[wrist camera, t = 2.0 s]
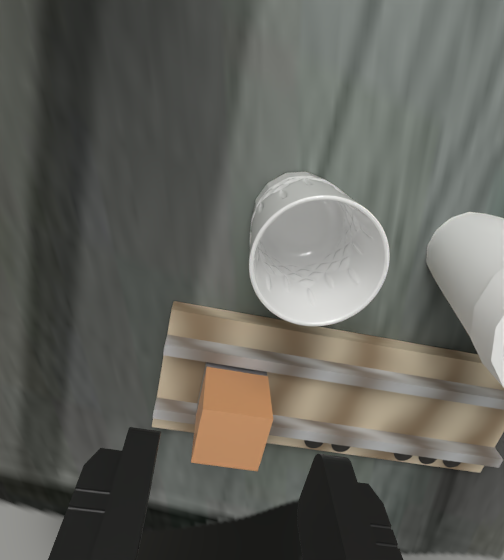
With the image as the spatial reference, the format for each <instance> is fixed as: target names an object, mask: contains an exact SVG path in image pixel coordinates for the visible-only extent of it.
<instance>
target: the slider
mask: <svg viewBox="0 0 504 560" xmlns="http://www.w3.org/2000/svg"><path fill="white" fill-rule="evenodd" d="M272 422H273V412H272V404H271V396H270V388H269V379H268V376H267V372H265V371H259V370H252V369H246V368H240V367H234V366H227V365H221V364H215V363H209V362H206V365H205V369H204V374H203V379H202V383H201V388H200V393H199V397H198V403H197V413H196V420H195V430H194V439H193V449H192V458H191V463H199V464H206V465H214V466H221V467H229V468H237V469H244V470H252V471H258V468H259V465H260V462H261V458H262V455H263V452H264V449H265V445H266V442H267V439H268V435H269V432H270V429H271V425H272Z"/></svg>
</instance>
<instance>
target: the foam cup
mask: <svg viewBox="0 0 504 560" xmlns="http://www.w3.org/2000/svg"><path fill="white" fill-rule="evenodd" d="M426 263H427V265H428V268H429V270H430V272H431V274H432V276H433V277H434V279H435V281H436V283H437V284H438V286H439V288H440V289H441V291H442V292H443V294H444V296H445V297H446V299H447V301H448V302H449V304H450V305H451V307H452V309H453V310H454V312H455V313H456V315H457V317H458V318H459V320H460V322H461V323H462V325H463V326H464V328H465V330H466V331H467V333H468V335H469V336H470V338H471V340H472V343H473V345H474V347H475V349H476V351H477V353H478V355H479V357H480V359H481V362H482V363H483V365H484V366H485V367H486V368H487V369H488V370H489V371H490V373H491V374H492V375H493V376H494V377H495V378H496V379H497V381H498V382H499V383H500V384H501V385H502V386H503V387H504V218H501V217H497V216H493V215H488V214H483V213H474V212H467V213H464V214H461V215H458V216H455V217H452V218H450V219H449V220H448V221H446V222H445V223H444V224H443V225H442V226H440V227H439V228H438V229H437V230H436V231H435V233H434V235H433V237H432V238H431V240H430V242H429V244H428V246H427V257H426Z"/></svg>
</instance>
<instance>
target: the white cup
mask: <svg viewBox="0 0 504 560" xmlns="http://www.w3.org/2000/svg"><path fill="white" fill-rule="evenodd" d="M389 256H390V255H389V245H388V241H387V237H386V234H385V232H384V230H383V228H382V226H381V224H380V223H379V222H378V220H377V219H376V218H375V217H374V215H373V214H372V213H371V212H369V211H368V210H367V209H366V208H364V207H363V206H362V205H360V204H359V203H358V202H356V201H355V200H354V199H353V198H351V197H350V196H349V195H347V194H346V193H345V192H344V191H342V190H341V189H339V188H338V187H336V186H335V185H333V184H332V183H330V182H328V181H326V180H325V179H323V178H320V177H318V176H316V175H313V174H311V173H309V172H292V173H285V174H283V175H281V176H279V177H277V178H276V179H274V180H272V181H270V182H268V183H267V184H266V186H265V187H264V189H263V190H262V191H261V193H260V194H259V196H258V197H257V198H256V200H255V205H254V211H253V215H252V219H251V228H250V241H249V273H250V279H251V283H252V286H253V288H254V291H255V293H256V295H257V296H258V298H259V299H260V301H261V302H262V303H263V305H264V306H265V307H266V308H267V309H268V310H269V311H271V312H272V313H273V314H275V315H276V316H278V317H279V318H281V319H283V320H285V321H288V322H290V323H294V324H297V325H302V326H325V325H331V324H335V323H338V322H341V321H343V320H346V319H348V318H350V317H352V316H353V315H355V314H357V313H358V312H360V311H361V310H362V309H363V308H365V307H366V306H367V305H368V304H369V303H370V302H371V301H372V300H373V298H374V297H375V296H376V295H377V293H378V292H379V290H380V289H381V287H382V285H383V283H384V280H385V278H386V275H387V272H388V267H389Z"/></svg>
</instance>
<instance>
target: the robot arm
mask: <svg viewBox="0 0 504 560" xmlns="http://www.w3.org/2000/svg"><path fill="white" fill-rule="evenodd" d="M160 434H161V431H154V430H147V429H140V428H133V427H130V428H129V430H128V433H127V437H126V440H125V443H124V447H123V450H122V451H119V450H111V449H104V448H100V449H99V450H98V451H97V452H96V453H95V454H94V455H93V456H92V457H91V459H90V460H89V461H88V462H87V463H86V464H85V465H84V466H83V469H82V472H81V474H80V477H79V480H78V482H77V485H76V488H75V492H74V493H73V495H72V498H71V501H70V503H69V506H68V510H67V511H66V514H65V516H64V519H63V522H62V524H61V527H60V530H59V532H58V535H57V537H56V540H55V543H54V545H53V548H52V551H51V553H50V556H49V558H48V560H137V556H138V551H139V546H140V540H141V535H142V531H143V525H144V520H145V515H146V510H147V505H148V500H149V495H150V489H151V484H152V479H153V473H154V467H155V462H156V456H157V451H158V445H159V440H160ZM297 520H298V521H297V522H298V530H299V538H300V544H301V551H302V558H303V560H403V558H402V555H401V552H400V549H398V548H397V541H396V538H395V535H394V532H393V530H391V524H390V521H389V518H388V516H387V513H386V510H385V507H384V504H383V503H382V501H381V500H380V499H379V497H378V496H377V495H376V493H375V492H374V491H373V489H372V488H371V487H370V485H369V484H366V483H358V482H357V480H356V476H355V473H354V470H353V467H352V464H351V461H350V460H349V459H348V458H346V457H338V456H331V455H324V454H317V455H316V456H315V458H314V460H313V463H312V465H311V468H310V471H309V474H308V476H307V479H306V482H305V485H304V487H303V490H302V493H301V496H300V499H299V504H298V514H297Z"/></svg>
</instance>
